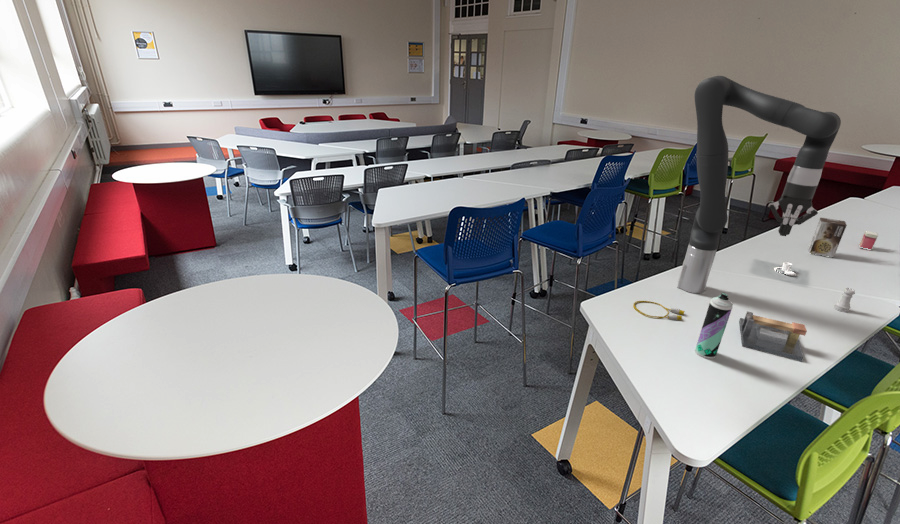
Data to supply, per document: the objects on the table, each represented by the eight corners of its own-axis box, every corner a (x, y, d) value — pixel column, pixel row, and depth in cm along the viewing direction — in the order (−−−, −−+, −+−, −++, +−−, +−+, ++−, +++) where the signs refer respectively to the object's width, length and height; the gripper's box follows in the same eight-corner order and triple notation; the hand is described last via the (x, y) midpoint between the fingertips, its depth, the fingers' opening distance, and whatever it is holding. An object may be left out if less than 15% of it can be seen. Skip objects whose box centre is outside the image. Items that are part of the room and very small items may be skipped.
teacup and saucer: (795, 279, 180) (799, 270, 179) (772, 273, 185) (775, 264, 183) (796, 271, 187) (800, 263, 185) (774, 266, 191) (777, 257, 189)
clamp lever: (746, 322, 138) (748, 317, 137) (745, 316, 141) (747, 311, 140) (804, 336, 132) (806, 331, 131) (802, 330, 135) (804, 324, 134)
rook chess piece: (845, 307, 159) (855, 287, 156) (851, 313, 155) (861, 293, 152) (831, 305, 160) (839, 285, 157) (836, 311, 156) (845, 291, 153)
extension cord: (671, 329, 144) (672, 323, 143) (626, 309, 154) (627, 304, 154) (688, 317, 151) (689, 311, 150) (644, 298, 162) (645, 294, 161)
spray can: (691, 348, 133) (709, 289, 125) (708, 347, 134) (727, 289, 125) (701, 359, 128) (721, 299, 120) (719, 358, 129) (740, 298, 120)
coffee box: (831, 254, 205) (845, 221, 198) (833, 258, 200) (847, 224, 193) (807, 249, 209) (820, 216, 203) (808, 253, 204) (821, 220, 198)
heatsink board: (742, 346, 135) (748, 327, 132) (738, 321, 148) (745, 304, 145) (801, 361, 129) (810, 342, 126) (793, 334, 142) (800, 316, 139)
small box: (858, 245, 216) (865, 230, 213) (870, 247, 214) (877, 232, 210) (859, 248, 212) (866, 233, 209) (871, 250, 210) (878, 235, 207)
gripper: (778, 181, 134) (759, 234, 141) (832, 187, 128) (810, 243, 135) (774, 176, 140) (757, 227, 147) (826, 182, 134) (805, 235, 141)
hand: (782, 235), depth 141 cm, fingers closed
